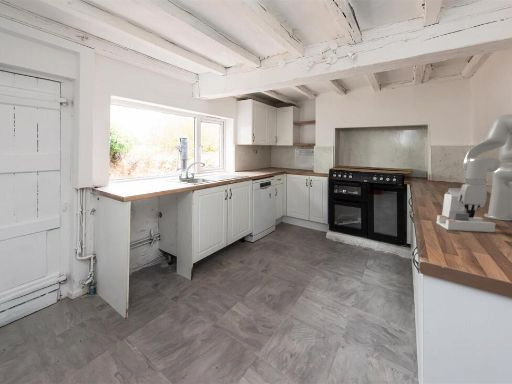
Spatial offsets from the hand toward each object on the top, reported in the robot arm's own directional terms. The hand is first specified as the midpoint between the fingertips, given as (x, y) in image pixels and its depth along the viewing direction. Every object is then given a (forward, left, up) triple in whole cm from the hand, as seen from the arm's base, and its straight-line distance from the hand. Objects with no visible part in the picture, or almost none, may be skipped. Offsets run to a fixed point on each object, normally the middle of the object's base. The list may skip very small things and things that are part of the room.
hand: (469, 217), depth 124 cm
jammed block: (+5, 0, -5) cm, 7 cm away
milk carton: (+1, -13, -6) cm, 14 cm away
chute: (+2, 0, -6) cm, 6 cm away
